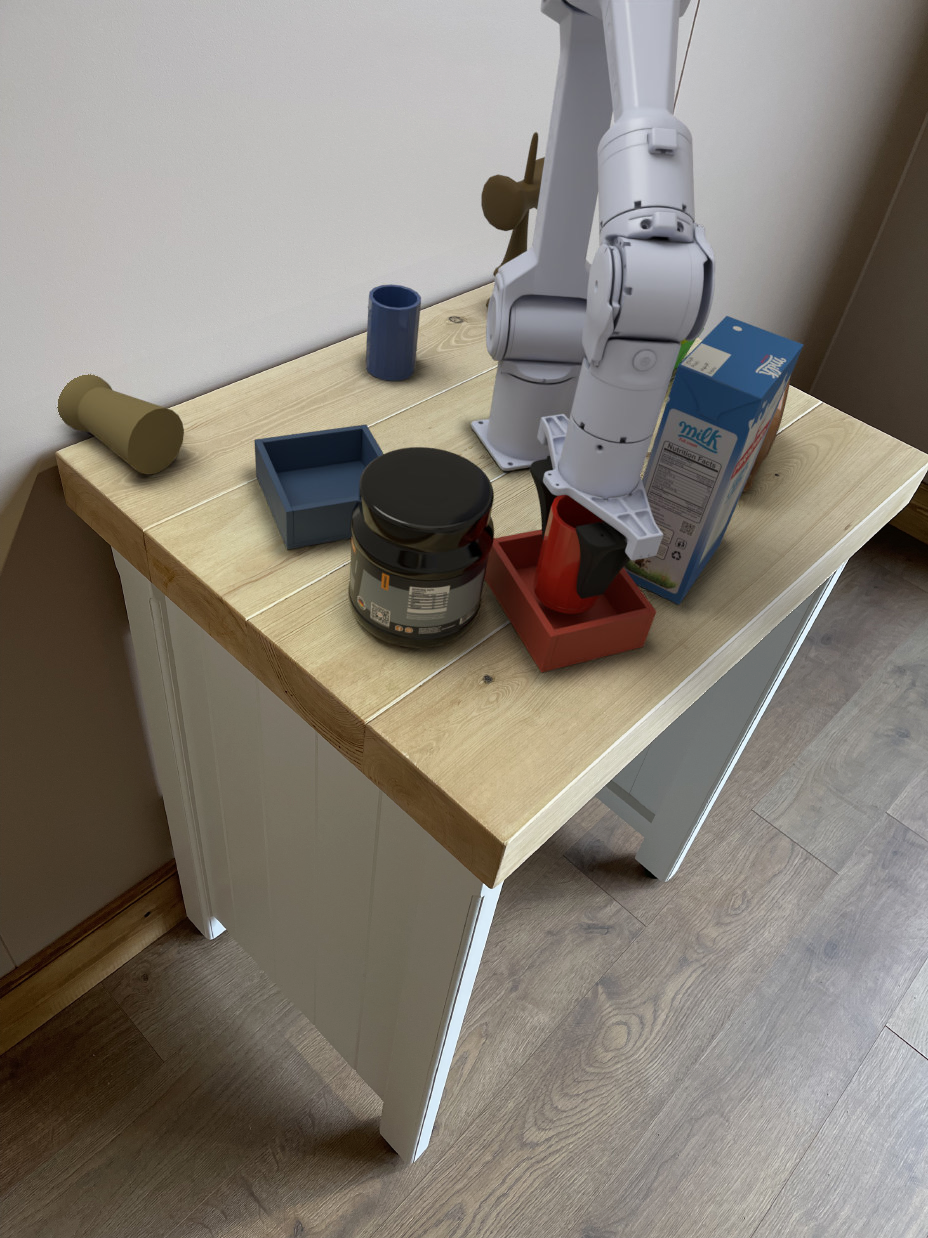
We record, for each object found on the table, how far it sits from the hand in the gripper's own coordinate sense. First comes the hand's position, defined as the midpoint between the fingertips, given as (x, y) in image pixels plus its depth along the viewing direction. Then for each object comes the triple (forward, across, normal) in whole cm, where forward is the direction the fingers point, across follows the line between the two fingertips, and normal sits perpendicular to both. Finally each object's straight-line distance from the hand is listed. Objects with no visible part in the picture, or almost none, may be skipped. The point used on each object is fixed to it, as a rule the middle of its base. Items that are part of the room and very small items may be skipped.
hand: (572, 567), depth 71 cm
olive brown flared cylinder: (+2, -26, -27) cm, 37 cm away
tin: (+5, -13, +28) cm, 31 cm away
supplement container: (+5, -4, -11) cm, 13 cm away
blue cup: (+5, -38, -1) cm, 38 cm away
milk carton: (+5, -3, +12) cm, 14 cm away
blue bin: (+5, -18, -14) cm, 23 cm away
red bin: (+5, 0, 0) cm, 5 cm away
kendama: (+5, -47, +17) cm, 50 cm away
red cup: (+2, 0, 0) cm, 2 cm away
